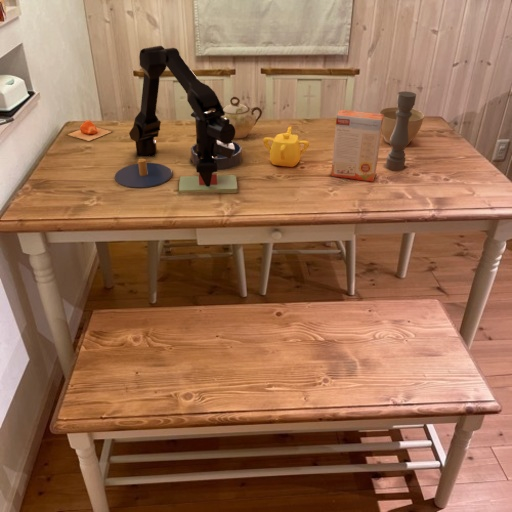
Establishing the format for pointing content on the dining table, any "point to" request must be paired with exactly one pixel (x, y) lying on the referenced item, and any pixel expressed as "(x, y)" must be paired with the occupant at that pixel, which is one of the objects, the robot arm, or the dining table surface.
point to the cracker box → (356, 145)
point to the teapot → (285, 149)
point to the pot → (222, 157)
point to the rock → (89, 131)
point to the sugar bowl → (240, 117)
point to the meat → (213, 179)
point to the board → (223, 186)
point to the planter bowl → (391, 119)
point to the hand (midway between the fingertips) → (208, 181)
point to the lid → (143, 175)
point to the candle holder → (400, 131)
